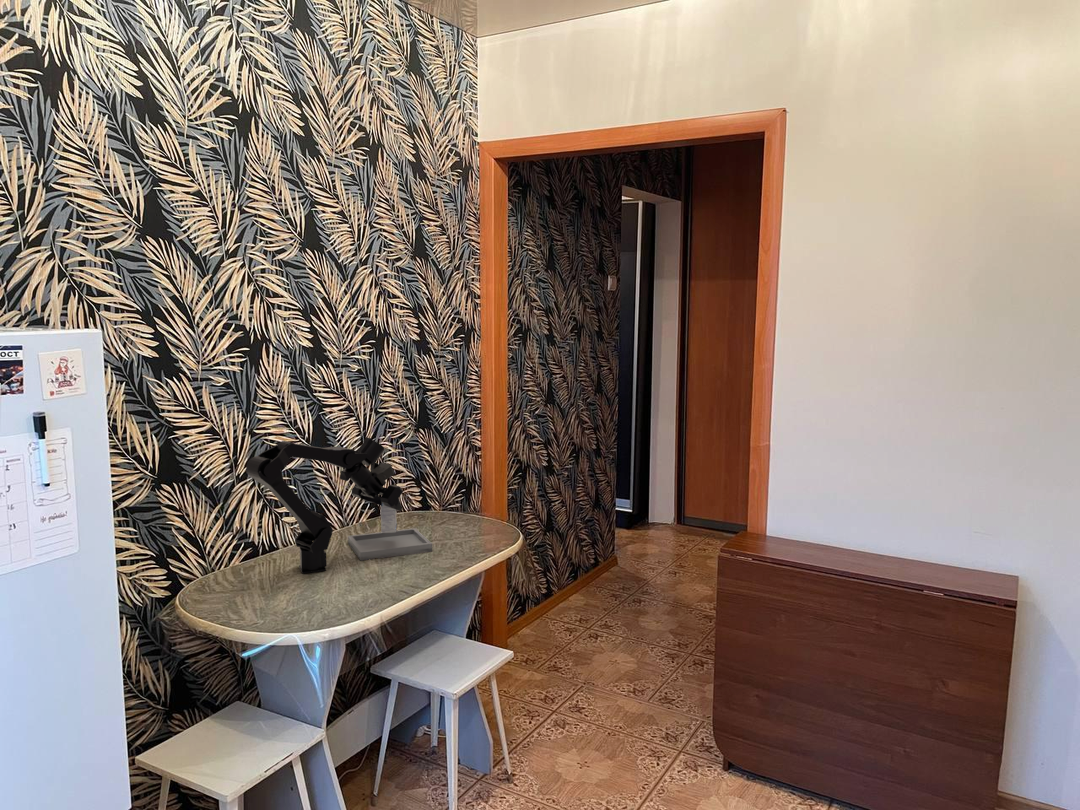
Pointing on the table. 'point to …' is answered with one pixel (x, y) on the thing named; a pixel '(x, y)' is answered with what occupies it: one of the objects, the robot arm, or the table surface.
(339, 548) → the table surface
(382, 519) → the medicine box
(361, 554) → the tray
